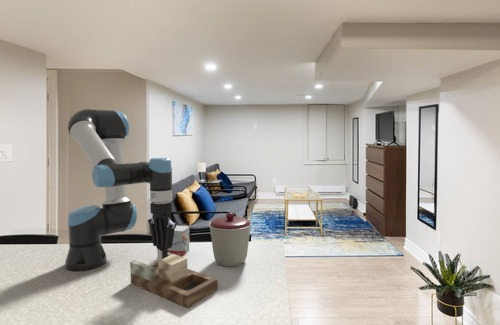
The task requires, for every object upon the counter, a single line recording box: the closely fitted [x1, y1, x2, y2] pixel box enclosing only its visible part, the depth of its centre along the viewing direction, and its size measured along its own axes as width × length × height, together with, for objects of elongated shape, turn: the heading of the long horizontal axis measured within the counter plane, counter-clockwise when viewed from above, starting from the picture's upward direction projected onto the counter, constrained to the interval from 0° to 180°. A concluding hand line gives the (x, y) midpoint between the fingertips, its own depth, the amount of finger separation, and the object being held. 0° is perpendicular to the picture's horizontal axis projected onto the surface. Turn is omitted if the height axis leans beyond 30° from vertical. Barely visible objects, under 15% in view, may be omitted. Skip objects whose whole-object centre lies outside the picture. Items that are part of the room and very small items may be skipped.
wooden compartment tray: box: [129, 252, 219, 310], centre depth 109 cm, size 29×14×8 cm, turn 55°
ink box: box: [168, 224, 190, 257], centre depth 141 cm, size 9×9×12 cm
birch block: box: [157, 254, 188, 282], centre depth 109 cm, size 7×7×6 cm
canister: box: [208, 212, 253, 267], centre depth 131 cm, size 18×18×21 cm
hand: (163, 266), depth 112 cm, fingers closed
